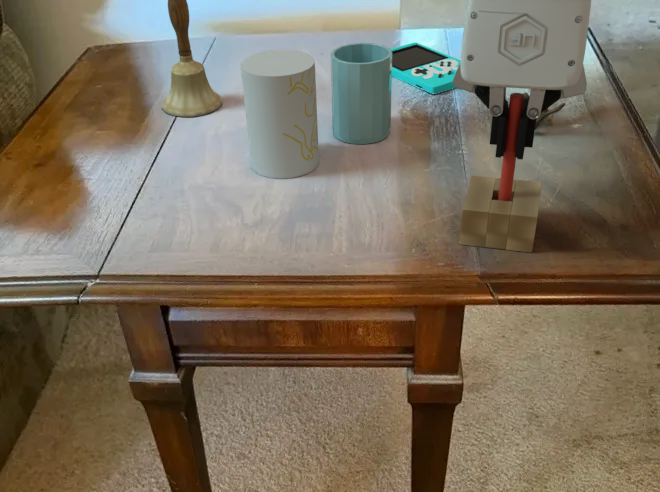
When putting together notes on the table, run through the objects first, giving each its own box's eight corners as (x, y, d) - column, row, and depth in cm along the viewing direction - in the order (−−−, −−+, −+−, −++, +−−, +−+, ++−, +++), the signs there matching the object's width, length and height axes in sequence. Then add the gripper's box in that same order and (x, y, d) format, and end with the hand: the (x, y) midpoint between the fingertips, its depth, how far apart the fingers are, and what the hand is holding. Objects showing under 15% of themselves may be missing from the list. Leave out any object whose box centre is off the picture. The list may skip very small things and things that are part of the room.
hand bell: (229, 110, 104) (214, -13, 94) (169, 121, 102) (148, -4, 92) (214, 89, 110) (199, -29, 100) (157, 99, 108) (136, -20, 98)
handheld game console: (431, 96, 105) (432, 86, 104) (362, 63, 116) (362, 54, 115) (486, 78, 109) (487, 69, 108) (414, 49, 120) (415, 40, 119)
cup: (304, 182, 87) (298, 79, 79) (239, 173, 89) (228, 72, 82) (328, 151, 93) (325, 52, 85) (267, 143, 95) (258, 47, 88)
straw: (507, 226, 77) (524, 92, 69) (506, 232, 77) (523, 98, 68) (495, 225, 78) (510, 92, 69) (494, 231, 77) (509, 97, 68)
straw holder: (536, 216, 79) (541, 182, 77) (532, 253, 74) (537, 217, 71) (468, 209, 81) (471, 175, 78) (459, 244, 76) (462, 209, 73)
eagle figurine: (579, 129, 92) (577, 87, 98) (553, 84, 88) (553, 43, 94) (520, 154, 96) (522, 113, 102) (494, 112, 93) (497, 72, 98)
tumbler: (395, 122, 99) (397, 44, 92) (383, 146, 93) (384, 65, 87) (341, 118, 100) (339, 41, 94) (326, 141, 95) (323, 61, 89)
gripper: (431, -51, 60) (421, 163, 71) (641, -48, 56) (596, 178, 67) (445, -73, 65) (434, 129, 77) (638, -71, 61) (596, 141, 73)
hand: (510, 151), depth 72 cm, fingers closed on straw, 1 cm apart
